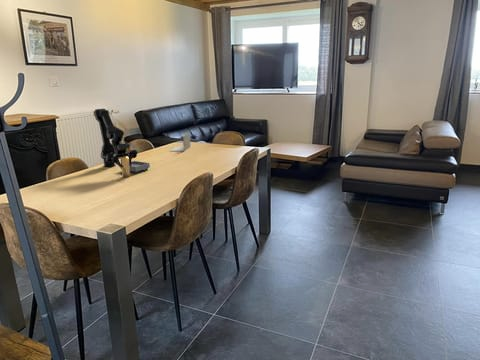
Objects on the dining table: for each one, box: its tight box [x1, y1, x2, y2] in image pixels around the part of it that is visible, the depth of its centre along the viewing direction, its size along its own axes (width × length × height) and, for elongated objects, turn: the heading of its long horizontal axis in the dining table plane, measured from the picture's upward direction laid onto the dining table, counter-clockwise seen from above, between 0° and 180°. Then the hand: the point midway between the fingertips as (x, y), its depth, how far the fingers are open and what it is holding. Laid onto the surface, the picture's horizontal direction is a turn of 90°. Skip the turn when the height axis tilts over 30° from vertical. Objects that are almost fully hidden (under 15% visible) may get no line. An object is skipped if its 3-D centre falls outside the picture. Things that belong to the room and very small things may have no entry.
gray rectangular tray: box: [120, 160, 151, 174], centre depth 238 cm, size 14×12×4 cm
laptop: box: [169, 132, 191, 153], centre depth 301 cm, size 18×12×13 cm
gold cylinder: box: [119, 156, 131, 179], centre depth 222 cm, size 5×5×12 cm
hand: (126, 166), depth 221 cm, fingers open, 6 cm apart
